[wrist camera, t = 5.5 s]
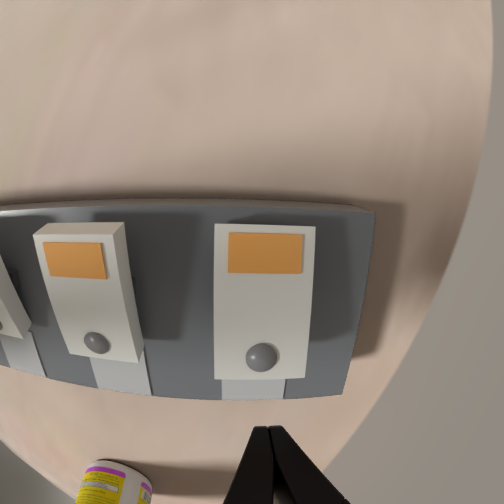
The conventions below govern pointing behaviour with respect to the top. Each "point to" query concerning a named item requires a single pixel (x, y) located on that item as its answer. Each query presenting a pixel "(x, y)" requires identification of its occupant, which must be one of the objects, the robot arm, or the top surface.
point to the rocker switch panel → (189, 294)
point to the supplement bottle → (113, 485)
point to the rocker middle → (91, 288)
